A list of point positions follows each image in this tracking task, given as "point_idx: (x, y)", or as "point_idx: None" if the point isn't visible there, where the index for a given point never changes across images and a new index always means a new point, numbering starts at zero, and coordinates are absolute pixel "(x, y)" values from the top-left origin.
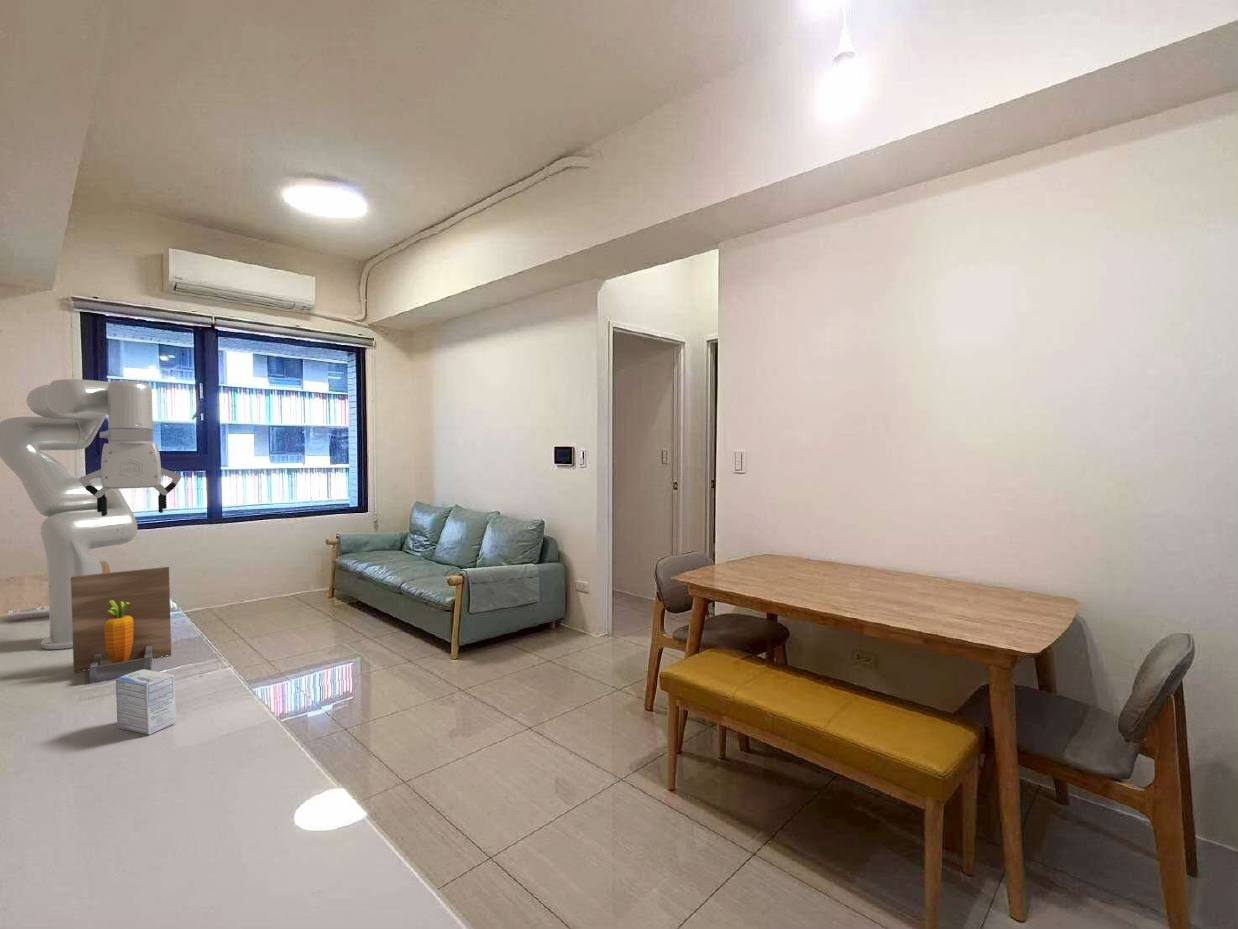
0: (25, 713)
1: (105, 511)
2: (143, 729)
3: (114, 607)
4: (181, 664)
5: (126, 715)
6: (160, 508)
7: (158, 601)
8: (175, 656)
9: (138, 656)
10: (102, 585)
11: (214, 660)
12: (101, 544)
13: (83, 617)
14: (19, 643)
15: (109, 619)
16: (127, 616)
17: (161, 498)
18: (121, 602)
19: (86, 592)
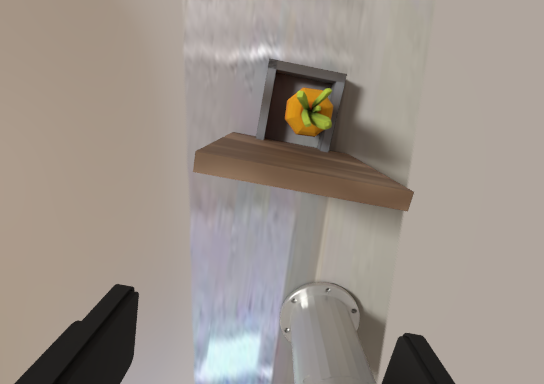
0: (421, 2)
1: (413, 351)
2: None
3: (319, 117)
4: (228, 68)
5: None
6: (114, 300)
7: (236, 145)
8: (228, 122)
9: (273, 140)
10: (342, 173)
11: (185, 46)
12: None
13: (358, 166)
14: (373, 358)
15: (326, 110)
16: (296, 108)
17: (51, 358)
18: (308, 118)
19: (368, 176)
